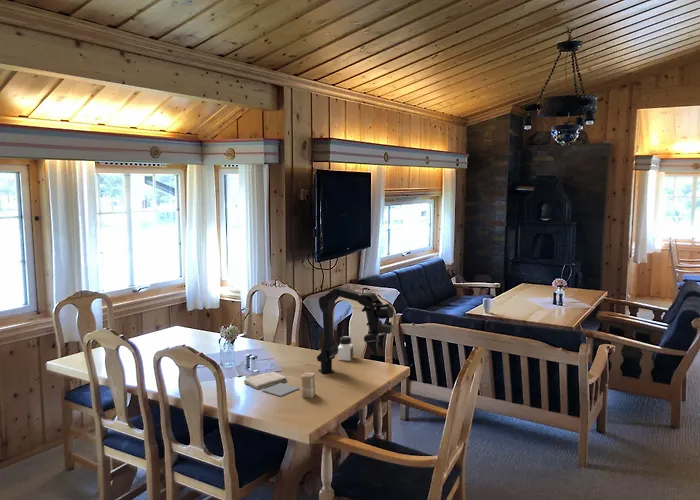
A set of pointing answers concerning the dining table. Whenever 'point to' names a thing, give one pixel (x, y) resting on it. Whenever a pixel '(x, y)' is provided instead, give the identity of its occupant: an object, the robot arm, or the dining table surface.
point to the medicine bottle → (345, 349)
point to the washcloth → (265, 380)
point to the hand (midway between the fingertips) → (379, 351)
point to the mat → (280, 389)
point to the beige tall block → (308, 385)
